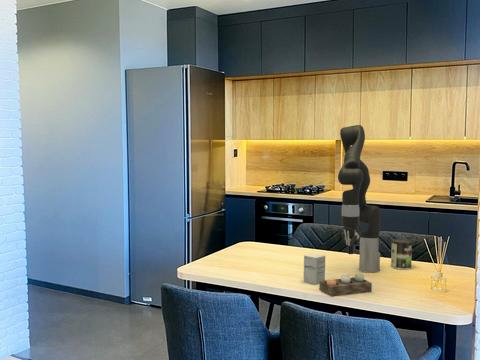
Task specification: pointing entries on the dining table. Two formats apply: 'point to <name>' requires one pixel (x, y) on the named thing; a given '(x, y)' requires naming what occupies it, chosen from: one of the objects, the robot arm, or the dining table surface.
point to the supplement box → (314, 268)
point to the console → (345, 287)
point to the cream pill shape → (345, 279)
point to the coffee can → (401, 254)
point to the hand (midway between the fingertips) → (350, 253)
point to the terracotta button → (331, 282)
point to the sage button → (359, 277)
